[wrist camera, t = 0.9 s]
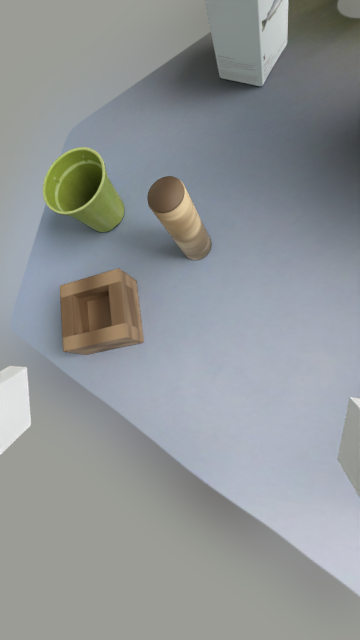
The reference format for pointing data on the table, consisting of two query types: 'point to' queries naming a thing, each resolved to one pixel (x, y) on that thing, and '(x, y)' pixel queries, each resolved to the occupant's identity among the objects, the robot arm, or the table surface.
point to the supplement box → (247, 37)
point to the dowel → (179, 217)
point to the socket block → (100, 313)
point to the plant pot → (83, 190)
